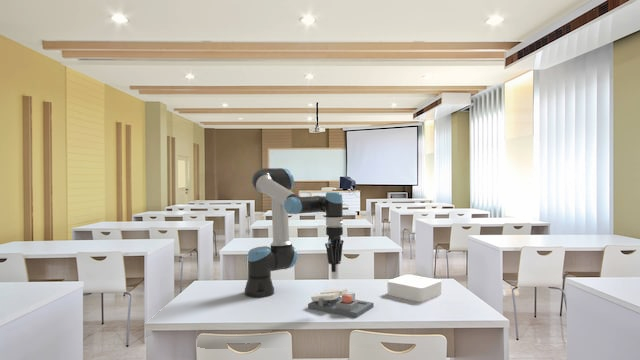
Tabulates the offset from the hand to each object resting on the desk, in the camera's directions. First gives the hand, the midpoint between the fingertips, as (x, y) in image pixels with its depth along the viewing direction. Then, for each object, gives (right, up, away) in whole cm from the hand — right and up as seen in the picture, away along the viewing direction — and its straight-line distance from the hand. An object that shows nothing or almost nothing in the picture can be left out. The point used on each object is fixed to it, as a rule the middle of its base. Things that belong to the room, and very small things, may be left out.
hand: (334, 278), depth 192 cm
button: (+5, -10, -3) cm, 12 cm away
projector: (+42, -14, +26) cm, 51 cm away
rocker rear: (0, -9, +10) cm, 13 cm away
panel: (+3, -14, +3) cm, 15 cm away
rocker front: (-4, -9, +3) cm, 11 cm away
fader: (+8, -12, +6) cm, 15 cm away
